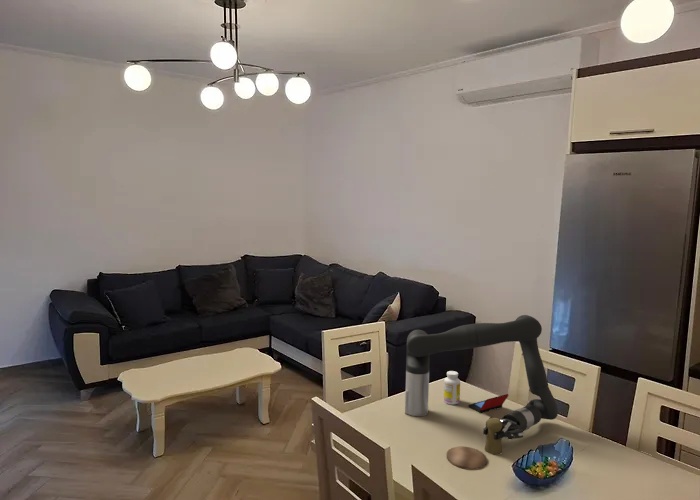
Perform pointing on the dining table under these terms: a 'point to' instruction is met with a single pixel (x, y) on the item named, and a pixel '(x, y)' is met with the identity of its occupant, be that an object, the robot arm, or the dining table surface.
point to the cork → (492, 444)
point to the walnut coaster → (466, 457)
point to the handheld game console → (489, 404)
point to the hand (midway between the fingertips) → (489, 434)
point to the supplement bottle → (452, 388)
